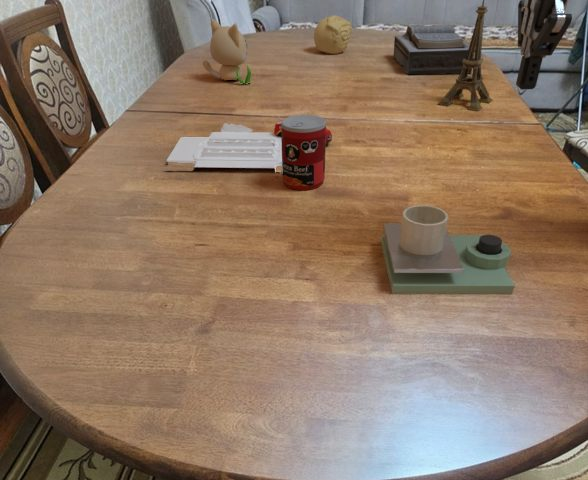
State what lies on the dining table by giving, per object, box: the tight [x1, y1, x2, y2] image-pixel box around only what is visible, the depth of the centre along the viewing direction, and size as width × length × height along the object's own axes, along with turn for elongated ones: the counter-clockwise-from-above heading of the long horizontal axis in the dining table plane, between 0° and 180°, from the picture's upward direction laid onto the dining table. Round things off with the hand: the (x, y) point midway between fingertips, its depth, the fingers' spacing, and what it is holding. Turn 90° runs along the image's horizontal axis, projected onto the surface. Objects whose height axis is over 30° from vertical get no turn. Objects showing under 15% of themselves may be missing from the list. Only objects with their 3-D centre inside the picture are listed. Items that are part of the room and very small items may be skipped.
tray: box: [166, 122, 282, 173], centre depth 113 cm, size 20×28×4 cm
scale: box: [380, 234, 515, 295], centre depth 77 cm, size 17×14×3 cm
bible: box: [393, 24, 475, 76], centre depth 167 cm, size 23×27×10 cm
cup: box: [399, 204, 450, 255], centre depth 75 cm, size 6×6×4 cm
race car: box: [273, 119, 333, 144], centre depth 117 cm, size 13×5×4 cm, turn 59°
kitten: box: [202, 18, 252, 84], centre depth 153 cm, size 15×10×15 cm
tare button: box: [477, 234, 503, 255], centre depth 76 cm, size 3×3×2 cm
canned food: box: [281, 114, 327, 191], centre depth 98 cm, size 8×8×11 cm
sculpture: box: [313, 14, 352, 55], centre depth 182 cm, size 11×12×11 cm
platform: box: [382, 222, 464, 273], centre depth 76 cm, size 9×13×1 cm
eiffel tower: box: [437, 0, 493, 112], centre depth 131 cm, size 11×11×25 cm
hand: (525, 87), depth 74 cm, fingers closed
